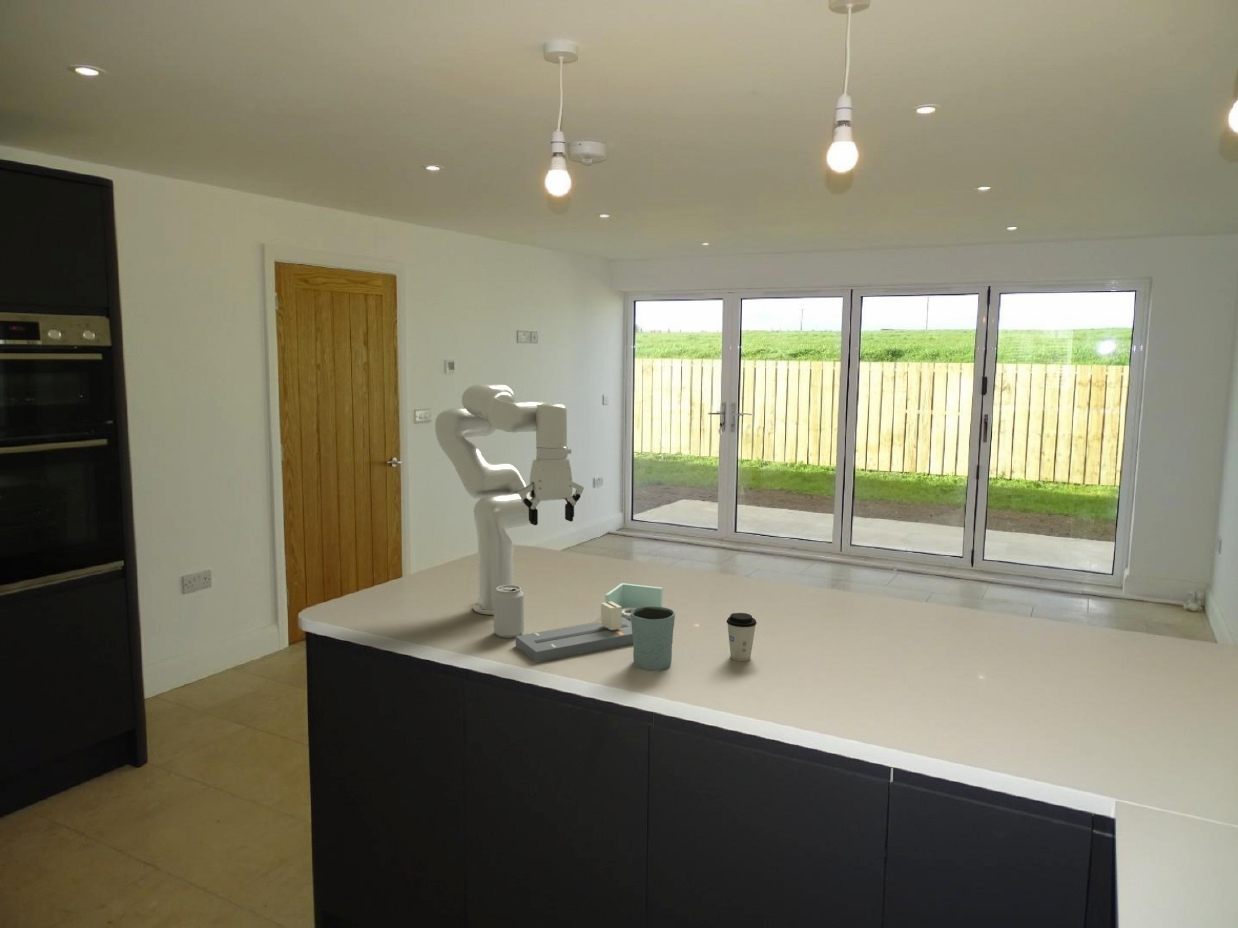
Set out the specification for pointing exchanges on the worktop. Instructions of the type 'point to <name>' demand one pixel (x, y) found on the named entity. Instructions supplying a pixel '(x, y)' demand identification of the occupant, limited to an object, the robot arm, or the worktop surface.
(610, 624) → the fader tab
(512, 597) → the can
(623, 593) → the right angle wall
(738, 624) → the coffee cup
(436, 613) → the worktop surface
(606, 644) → the fader console
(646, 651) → the teal embossed cup
